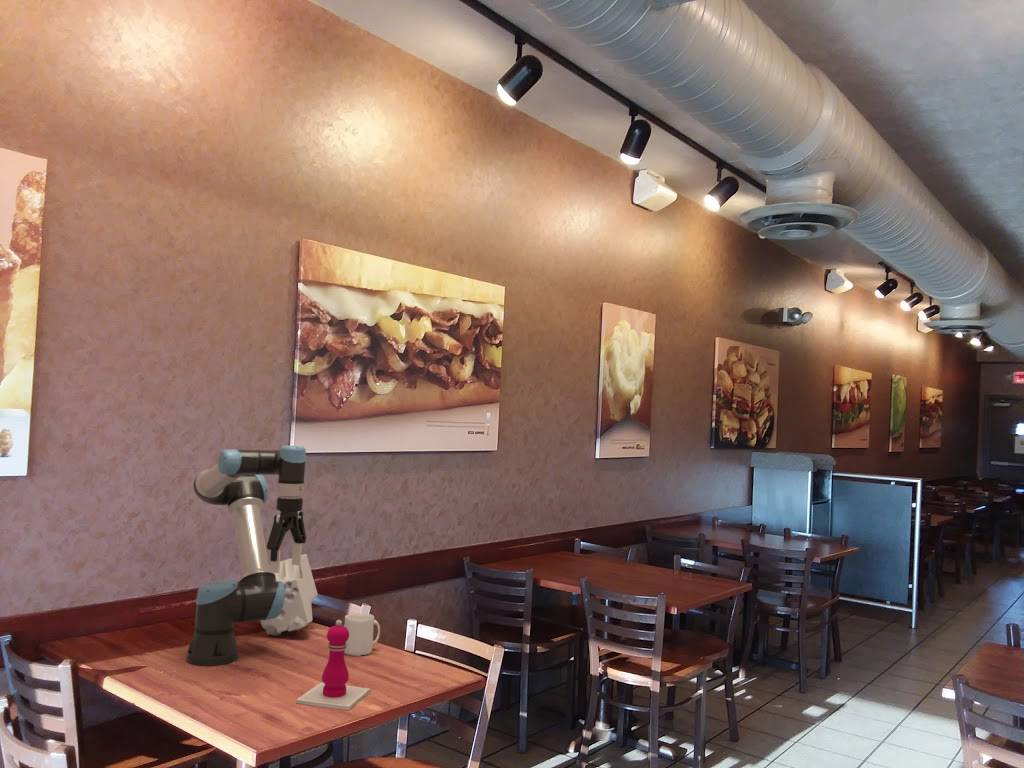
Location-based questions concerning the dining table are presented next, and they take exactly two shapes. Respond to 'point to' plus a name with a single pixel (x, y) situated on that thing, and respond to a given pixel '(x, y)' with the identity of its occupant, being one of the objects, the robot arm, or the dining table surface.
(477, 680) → the dining table surface
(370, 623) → the mug
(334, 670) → the pepper mill
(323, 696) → the plate
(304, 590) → the white sculpture
